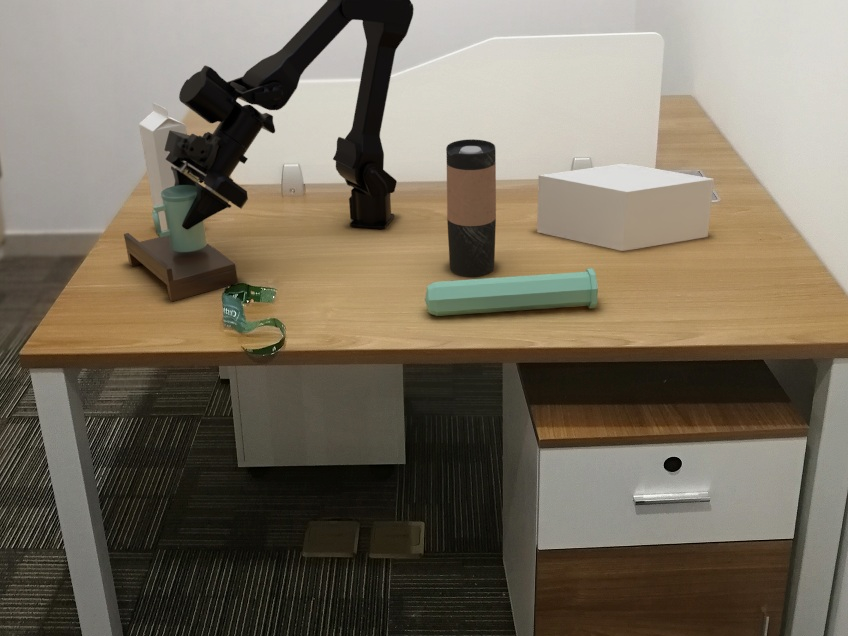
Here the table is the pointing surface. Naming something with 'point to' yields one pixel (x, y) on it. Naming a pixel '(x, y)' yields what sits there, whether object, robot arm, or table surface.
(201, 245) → the green mug
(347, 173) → the robot arm
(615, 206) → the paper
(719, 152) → the table surface
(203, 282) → the shelf
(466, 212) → the travel mug
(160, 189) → the milk
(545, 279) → the container
